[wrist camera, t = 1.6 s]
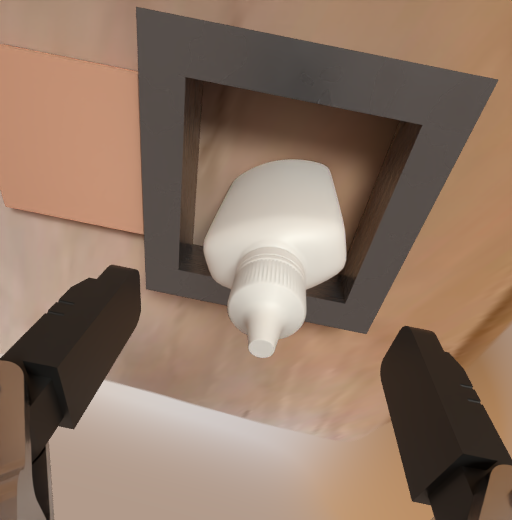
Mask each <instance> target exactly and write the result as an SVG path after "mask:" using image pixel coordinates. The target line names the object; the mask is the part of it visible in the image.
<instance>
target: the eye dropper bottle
mask: <svg viewBox="0 0 512 520" xmlns="http://www.w3.org/2000/svg"><path fill="white" fill-rule="evenodd" d="M203 251H204V256H205V259H206V263H207V266H208V268H209V271H210V273H211V276H212V277H213V279H214V280H215V281H216V282H217V283H219V284H221V285H222V286H224V287H227V288H230V289H231V292H230V295H229V299H228V302H227V310H228V316H229V317H230V320H231V322H232V323H233V324H234V325H235V327H237V328H238V329H239V330H240V331H241V332H243V333H244V334H246V335H248V348H249V351H250V353H251V354H252V355H254V356H256V357H259V358H267V357H270V356H271V355H272V354H273V353H274V351H275V348H276V345H277V342H278V340H279V339H283V338H286V337H288V336H290V335H292V334H294V333H295V332H296V331H297V330H299V329H300V327H301V326H302V324H304V321H305V318H306V290H307V289H309V288H312V287H314V286H316V285H319V284H321V283H323V282H325V281H327V280H328V279H330V278H332V277H333V276H335V275H337V274H338V273H339V272H340V271H341V270H342V269H343V268H344V265H345V262H346V237H345V228H344V223H343V218H342V214H341V210H340V206H339V202H338V198H337V194H336V190H335V187H334V183H333V179H332V175H331V173H330V170H329V168H328V167H326V166H325V165H323V164H321V163H318V162H313V161H308V160H299V159H286V160H277V161H272V162H268V163H265V164H262V165H259V166H256V167H254V168H252V169H250V170H248V171H246V172H245V173H243V174H241V175H240V176H239V177H237V178H236V179H235V180H234V181H233V183H232V184H231V186H230V188H229V190H228V192H227V194H226V196H225V198H224V200H223V202H222V204H221V206H220V208H219V210H218V212H217V214H216V216H215V218H214V220H213V222H212V224H211V226H210V228H209V230H208V232H207V234H206V237H205V239H204V245H203Z"/></svg>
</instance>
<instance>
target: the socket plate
mask: <svg viewBox="0 0 512 520" xmlns="http://www.w3.org/2000/svg"><path fill="white" fill-rule="evenodd" d="M136 18H137V46H138V75H139V103H140V131H141V159H142V187H143V216H144V244H145V272H146V289H148V290H153V291H158V292H163V293H168V294H172V295H177V296H182V297H187V298H192V299H197V300H202V301H207V302H212V303H217V304H221V305H226V306H227V302H228V299H229V295H230V292H231V289H230V288H227V287H224V286H222V285H221V284H219V283H217V282H216V281H215V280H214V279H213V277H212V276H211V273H210V271H209V268H208V266H207V263H206V259H205V256H204V251H203V246H198V245H194V244H193V231H194V216H195V200H196V184H197V169H198V153H199V138H200V122H201V106H202V91H203V81H208V82H213V83H217V84H222V85H227V86H232V87H237V88H242V89H247V90H252V91H257V92H262V93H267V94H272V95H277V96H282V97H287V98H292V99H297V100H302V101H307V102H312V103H317V104H321V105H326V106H331V107H336V108H341V109H346V110H351V111H356V112H361V113H366V114H371V115H376V116H381V117H386V118H391V119H396V120H400V122H399V124H398V127H397V129H396V132H395V135H394V137H393V140H392V142H391V145H390V147H389V150H388V152H387V155H386V158H385V160H384V163H383V165H382V168H381V170H380V173H379V175H378V178H377V180H376V183H375V186H374V188H373V191H372V193H371V196H370V198H369V201H368V203H367V206H366V209H365V211H364V214H363V216H362V219H361V221H360V224H359V226H358V229H357V231H356V234H355V237H354V239H353V242H352V244H351V247H350V249H349V252H348V254H347V257H346V262H345V265H344V268H343V269H342V270H341V272H340V274H337V275H335V276H333V277H332V278H330V279H328V280H327V281H325V282H323V283H321V284H319V285H316V286H314V287H312V288H309V289H307V290H306V318H305V322H310V323H315V324H319V325H324V326H329V327H334V328H339V329H344V330H349V331H354V332H359V333H364V334H367V332H368V330H369V328H370V326H371V324H372V322H373V320H374V318H375V316H376V315H377V313H378V311H379V309H380V307H381V305H382V303H383V301H384V299H385V297H386V295H387V293H388V291H389V290H390V288H391V286H392V284H393V282H394V280H395V278H396V276H397V274H398V272H399V270H400V268H401V266H402V265H403V263H404V261H405V259H406V257H407V255H408V253H409V251H410V249H411V247H412V245H413V243H414V241H415V239H416V238H417V236H418V234H419V232H420V230H421V228H422V226H423V224H424V222H425V220H426V218H427V216H428V214H429V213H430V211H431V209H432V207H433V205H434V203H435V201H436V199H437V197H438V195H439V193H440V191H441V189H442V188H443V186H444V184H445V182H446V180H447V178H448V176H449V174H450V172H451V170H452V168H453V166H454V164H455V163H456V161H457V159H458V157H459V155H460V153H461V151H462V149H463V147H464V145H465V143H466V141H467V139H468V137H469V136H470V134H471V132H472V130H473V128H474V126H475V124H476V122H477V120H478V118H479V116H480V114H481V112H482V111H483V109H484V107H485V105H486V103H487V101H488V99H489V97H490V95H491V93H492V91H493V89H494V87H495V86H496V84H497V82H498V80H497V79H492V78H487V77H482V76H477V75H472V74H467V73H462V72H457V71H452V70H447V69H442V68H437V67H433V66H428V65H423V64H418V63H413V62H408V61H403V60H398V59H393V58H388V57H383V56H378V55H373V54H368V53H363V52H358V51H353V50H348V49H343V48H338V47H333V46H328V45H323V44H318V43H313V42H308V41H303V40H298V39H293V38H289V37H284V36H279V35H274V34H269V33H264V32H259V31H254V30H249V29H244V28H239V27H234V26H229V25H224V24H219V23H214V22H209V21H204V20H199V19H194V18H189V17H184V16H179V15H174V14H169V13H164V12H159V11H154V10H149V9H145V8H140V7H136Z"/></svg>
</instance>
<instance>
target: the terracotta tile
mask: <svg viewBox="0 0 512 520" xmlns="http://www.w3.org/2000/svg"><path fill="white" fill-rule="evenodd" d="M0 190H1V193H2V196H3V200H4V203H5V206H6V207H10V208H15V209H20V210H25V211H30V212H35V213H40V214H45V215H50V216H55V217H59V218H64V219H69V220H74V221H79V222H84V223H89V224H94V225H99V226H104V227H109V228H113V229H118V230H123V231H128V232H133V233H138V234H143V235H144V216H143V187H142V159H141V131H140V103H139V75H138V71H133V70H128V69H124V68H119V67H114V66H109V65H104V64H99V63H94V62H89V61H84V60H79V59H74V58H69V57H64V56H59V55H54V54H49V53H44V52H39V51H34V50H29V49H25V48H20V47H15V46H10V45H5V44H0Z"/></svg>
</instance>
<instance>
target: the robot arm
mask: <svg viewBox="0 0 512 520" xmlns="http://www.w3.org/2000/svg"><path fill="white" fill-rule="evenodd" d="M140 312H141V298H140V275H139V271H138V270H136V269H131V268H126V267H122V266H117V265H110V266H109V267H107V269H106V270H105V271H104V272H103V273H102V274H101V275H100V276H99V277H98V278H97V279H93V278H88V279H86V280H84V281H82V282H80V283H78V284H76V285H74V286H72V287H71V288H70V289H69V290H68V291H67V292H66V293H65V294H64V295H63V296H62V297H61V298H60V299H59V302H58V303H57V302H56V303H55V304H54V305H53V306H52V307H51V308H50V309H49V310H48V313H47V314H46V313H45V314H44V315H43V316H42V317H41V318H40V319H39V320H38V321H37V322H36V323H35V324H34V325H33V326H32V327H31V328H30V329H29V330H28V331H27V332H26V333H25V334H24V335H23V336H22V337H21V338H20V339H19V340H18V341H17V342H16V343H15V344H14V345H13V346H12V347H11V348H10V349H9V350H8V351H7V352H6V353H5V354H4V355H3V356H2V357H1V358H0V520H54V510H53V495H52V481H51V466H50V453H49V443H48V441H49V439H50V438H51V436H52V435H53V433H54V432H55V430H56V428H57V427H58V426H61V427H65V428H70V429H74V428H75V427H76V425H77V423H78V422H79V420H80V418H81V417H82V415H83V413H84V412H85V410H86V409H87V407H88V405H89V404H90V402H91V400H92V399H93V397H94V395H95V394H96V392H97V390H98V389H99V387H100V385H101V384H102V382H103V380H104V379H105V377H106V376H107V374H108V372H109V371H110V369H111V367H112V366H113V364H114V362H115V361H116V359H117V357H118V356H119V354H120V352H121V351H122V349H123V348H124V346H125V344H126V343H127V341H128V339H129V338H130V336H131V334H132V333H133V331H134V329H135V328H136V326H137V323H138V320H139V317H140ZM380 375H381V382H382V385H383V389H384V393H385V397H386V401H387V405H388V409H389V413H390V417H391V421H392V424H393V428H394V432H395V436H396V440H397V444H398V448H399V452H400V455H401V460H402V463H403V467H404V471H405V475H406V479H407V483H408V486H409V491H410V495H411V499H412V501H413V502H418V503H423V504H427V505H431V507H432V510H433V513H434V517H433V518H432V519H431V520H512V459H511V457H510V455H509V453H508V451H507V450H506V448H505V446H504V444H503V442H502V440H501V438H500V436H499V435H498V433H497V431H496V429H495V427H494V425H493V423H492V421H491V419H490V418H489V416H488V414H487V412H486V410H485V408H484V406H483V405H481V404H480V399H479V397H478V395H477V393H476V391H475V390H473V389H472V387H473V386H472V384H471V382H470V380H469V378H468V376H467V374H466V372H465V371H464V369H463V368H462V367H461V365H460V364H459V363H458V362H457V361H456V360H455V359H454V358H453V357H452V356H451V355H450V354H449V353H448V352H444V350H443V348H442V346H441V344H440V342H439V340H438V338H437V336H436V335H435V333H434V332H432V331H429V330H424V329H419V328H414V327H409V326H404V327H402V328H401V330H400V331H399V333H398V335H397V336H396V338H395V340H394V341H393V343H392V345H391V346H390V348H389V350H388V352H387V353H386V355H385V357H384V358H383V361H382V364H381V371H380Z"/></svg>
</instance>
